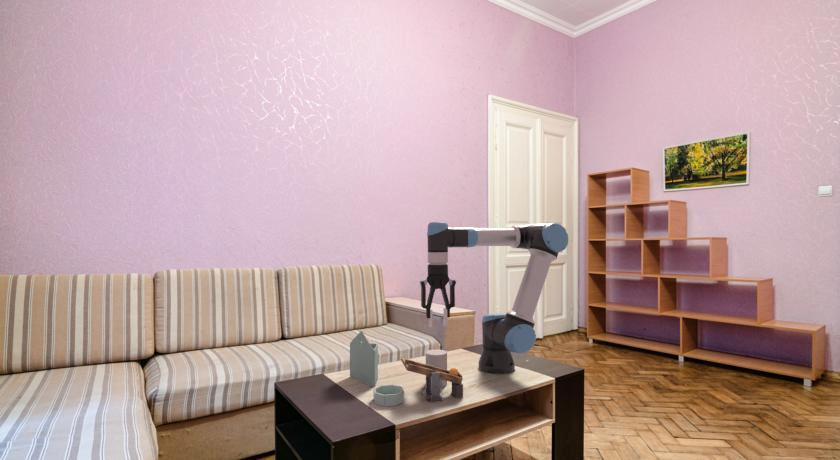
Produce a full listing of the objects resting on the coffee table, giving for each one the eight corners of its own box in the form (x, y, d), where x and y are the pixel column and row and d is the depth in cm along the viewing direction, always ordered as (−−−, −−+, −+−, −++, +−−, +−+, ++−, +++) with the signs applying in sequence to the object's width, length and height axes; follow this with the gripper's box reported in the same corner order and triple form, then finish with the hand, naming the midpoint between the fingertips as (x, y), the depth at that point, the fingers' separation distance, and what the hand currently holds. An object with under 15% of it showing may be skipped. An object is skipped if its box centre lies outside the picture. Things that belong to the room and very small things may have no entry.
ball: (455, 377, 158) (458, 367, 159) (458, 380, 155) (461, 370, 155) (446, 375, 158) (449, 365, 158) (449, 378, 154) (451, 368, 154)
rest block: (458, 391, 160) (458, 379, 160) (463, 397, 154) (463, 384, 154) (451, 391, 159) (451, 379, 159) (456, 397, 153) (456, 385, 153)
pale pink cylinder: (445, 388, 163) (445, 355, 163) (423, 386, 165) (423, 354, 165) (448, 381, 171) (448, 350, 171) (427, 379, 173) (427, 349, 173)
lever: (450, 372, 167) (452, 365, 167) (460, 384, 154) (463, 376, 154) (400, 359, 163) (402, 352, 163) (407, 370, 150) (409, 362, 150)
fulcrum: (436, 390, 160) (435, 364, 160) (443, 401, 150) (443, 373, 150) (422, 391, 159) (422, 365, 159) (428, 402, 149) (428, 374, 149)
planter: (390, 382, 170) (389, 331, 170) (373, 387, 164) (373, 334, 165) (365, 372, 182) (365, 324, 182) (349, 377, 177) (349, 327, 177)
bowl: (400, 393, 157) (400, 384, 157) (405, 404, 148) (405, 393, 148) (372, 396, 155) (372, 386, 155) (375, 406, 146) (375, 396, 146)
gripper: (458, 262, 169) (458, 323, 169) (412, 263, 165) (412, 325, 165) (464, 263, 162) (464, 327, 161) (416, 264, 158) (416, 330, 158)
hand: (438, 326), depth 163 cm, fingers open, 5 cm apart
